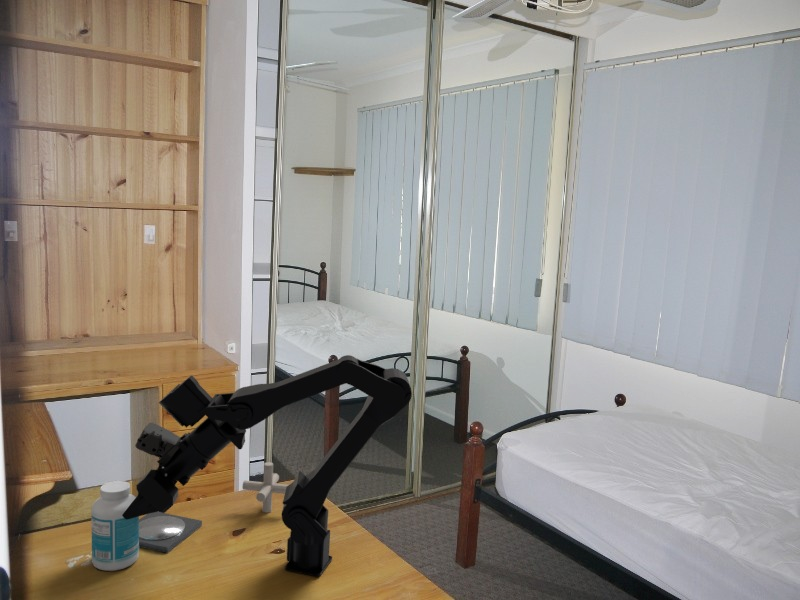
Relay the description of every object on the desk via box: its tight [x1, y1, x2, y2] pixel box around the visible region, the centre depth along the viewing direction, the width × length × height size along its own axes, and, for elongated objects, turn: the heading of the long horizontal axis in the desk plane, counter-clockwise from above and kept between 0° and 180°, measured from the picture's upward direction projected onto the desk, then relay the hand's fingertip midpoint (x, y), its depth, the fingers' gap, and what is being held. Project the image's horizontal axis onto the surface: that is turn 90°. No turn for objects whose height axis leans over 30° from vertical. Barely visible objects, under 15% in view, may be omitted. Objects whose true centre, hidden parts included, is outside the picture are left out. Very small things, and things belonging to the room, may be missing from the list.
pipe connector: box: [242, 461, 289, 514], centre depth 135 cm, size 10×10×10 cm
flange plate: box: [139, 512, 203, 554], centre depth 124 cm, size 11×11×1 cm
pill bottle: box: [90, 480, 140, 572], centre depth 113 cm, size 8×7×14 cm
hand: (133, 504), depth 113 cm, fingers open, 9 cm apart
